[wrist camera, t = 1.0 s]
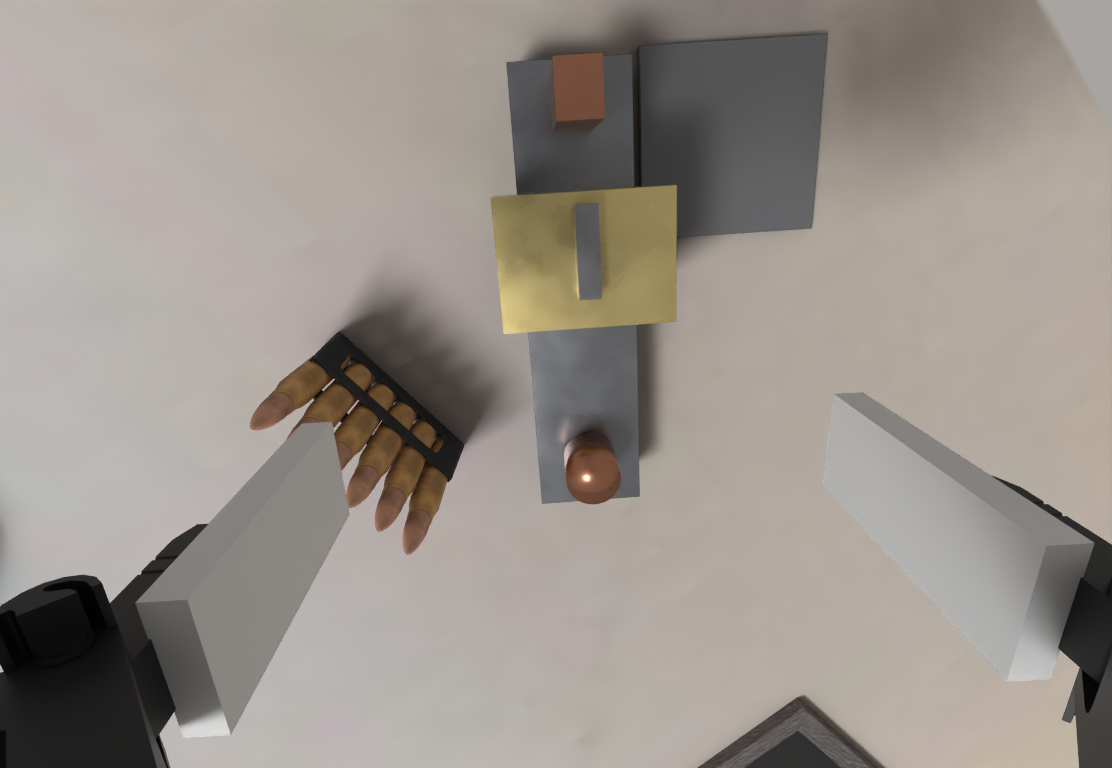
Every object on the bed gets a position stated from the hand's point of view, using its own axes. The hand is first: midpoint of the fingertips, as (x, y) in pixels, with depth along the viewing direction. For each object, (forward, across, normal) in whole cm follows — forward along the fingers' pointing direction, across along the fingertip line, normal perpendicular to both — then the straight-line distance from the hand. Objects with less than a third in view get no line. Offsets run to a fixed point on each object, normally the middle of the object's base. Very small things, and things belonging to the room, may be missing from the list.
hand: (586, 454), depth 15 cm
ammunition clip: (+21, -11, -6) cm, 25 cm away
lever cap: (+17, +1, +3) cm, 18 cm away
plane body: (+21, +1, 0) cm, 21 cm away
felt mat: (+21, +10, +8) cm, 25 cm away
